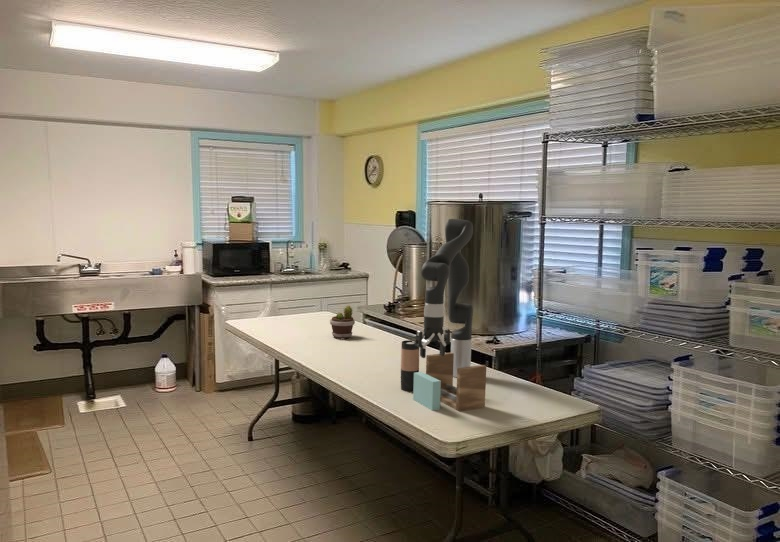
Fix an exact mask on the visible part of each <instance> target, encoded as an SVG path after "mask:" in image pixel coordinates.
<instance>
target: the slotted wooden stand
mask: <svg viewBox="0 0 780 542" xmlns="http://www.w3.org/2000/svg"><path fill="white" fill-rule="evenodd" d="M425 359H426V362H425V364H426V365H425V374H427V375H429V376H431V377H434V378H436V379H438V380H440V381H441V391H440V403H443V404H444V405H446V406H448V407H450V408H452V409H454V410H456V411H458V412H463V411H467V410H468V411H469V410H476V409H480V408H485V407H486V390H487V389H486V385H487V366H486V365H485V364H480V365H479V364H478V365H473V366H471V365H470V367H463V368H457V377H456V386H454V385H453V382H454V377H453V362H454V353H451V352H445V354H444V356H441V355H440V353H435V354H426V357H425Z"/></svg>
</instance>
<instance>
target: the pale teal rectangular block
mask: <svg viewBox="0 0 780 542" xmlns="http://www.w3.org/2000/svg"><path fill="white" fill-rule="evenodd" d="M440 391H441V381H440V380H438V379H436V378H434V377H431V376H429V375H427V374H426V372H424V371H423V372H422V371H419V372H416V373H414V388H413V391H412V392H413V393H412V394H413V395H412V400H413V401H415V402H417V403H418V404H420V405H422V406H424V407H425V408H426V409H428V410H430V411H436V410H437V411H438V410H440V409H441V401H440Z"/></svg>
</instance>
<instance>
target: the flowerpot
mask: <svg viewBox="0 0 780 542" xmlns="http://www.w3.org/2000/svg"><path fill="white" fill-rule="evenodd" d="M353 312H354V309H353V307H352V306H351V305H350V304H348V305H346V306H345V307H344V308H343V313H342V311H340V312H338V313H336V315H335V316H332V317H331V319H330V320H329V324H330V325H331V329H332V330H331V331H332V332H331V335H332V337H333V338H335V339H336V338H338V340H347V339H346V338H348V339H350V338H351V337H352V336H353V332H352V331H353V327H354V325H355V324H356V321H355V320H356V319H354V317H353V314H354V313H353Z"/></svg>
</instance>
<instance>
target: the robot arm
mask: <svg viewBox="0 0 780 542" xmlns="http://www.w3.org/2000/svg"><path fill="white" fill-rule="evenodd" d="M444 226H445V227H444V233H445V235H444V237H445V243H443V244H442V245H441V246H440V247H439V248H438V249H437V251H436V253H434V255H432V256H431V257H430V258H428V259H427V260H426V261H425V262H424V263H423V265H422V267H421V270H420V274H421V277H422V278H423V280H425V281H428V282H429V281H430V282H437V283H436V285H435V286H430V287H427V288H426V289H425V292H424V295H425V296H424V308H423V330H417V331H416V332H415V333H416V334H415V335H416V336H415V342H416V344H415V345H416V346H418V347H419V357H420V358H423V359H426V357H427V354H426V353H427V349H426V347H427V346H428V345H429V344H430V342H431V343H432V342H438V343H439V354H440V355H441V356H444V354H445V353H446V346H448V345H450V353H454V362H453V378H457V368H463V367H471V362H472V361H471V360H472V334H473V333H472V331H473V329H472V328H473V319H474V318H473V317H474V307H473V305H472V304H471V303H463V302H461V303H460V302H457V300H458V298H459V297H460V294H461V293H462V292H463V290H464V289H465V288H466V287H467V285H468V283H469V281H470V266H469V264H468V261H467V259H466V258H465V257H464V256H463V254H462V253H461V250H462V249H463V248H464V247H465V246H466V245H467V244H468V243H469V242H470V240H471V239H472V237H473V234H474V225H473V222H472V221H471V220H467V219H458V218H449V219H448V220H447V221H446V223H445V225H444ZM447 283H448V320H449V322H450V323H452V324H461V325H462V324H463V325H464V326H463V327H461V328H458V329H456V330H455V329H454V330H452V331H451V329H449V328H444V321H445V320H444V319H445V318H444V316H445V305H444V302H445V301H444V297H445V296H444V295H445V289H446V286H447Z"/></svg>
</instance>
